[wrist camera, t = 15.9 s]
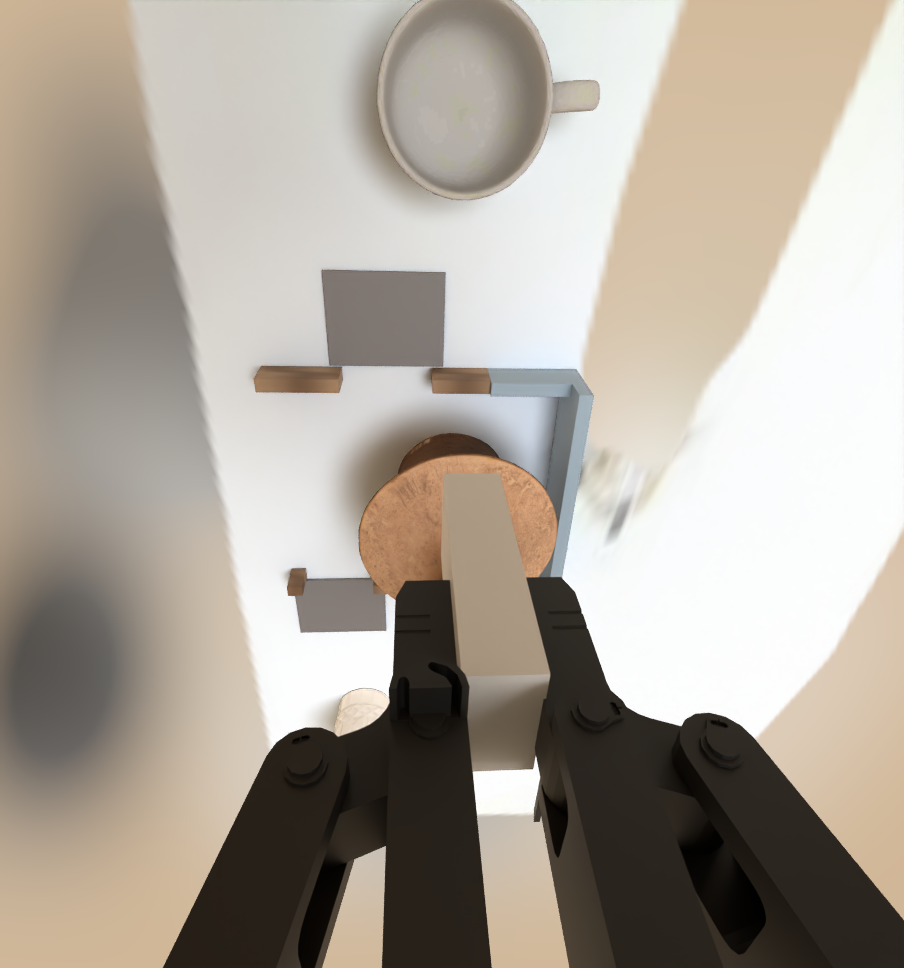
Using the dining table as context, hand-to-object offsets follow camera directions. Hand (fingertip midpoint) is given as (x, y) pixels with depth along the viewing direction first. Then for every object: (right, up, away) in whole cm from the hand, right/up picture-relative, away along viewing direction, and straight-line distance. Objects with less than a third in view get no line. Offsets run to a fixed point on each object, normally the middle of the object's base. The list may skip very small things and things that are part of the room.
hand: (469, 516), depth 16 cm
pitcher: (-1, +1, +42) cm, 42 cm away
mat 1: (-6, +15, +33) cm, 37 cm away
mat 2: (-13, -13, +50) cm, 54 cm away
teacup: (+2, +28, +26) cm, 38 cm away
